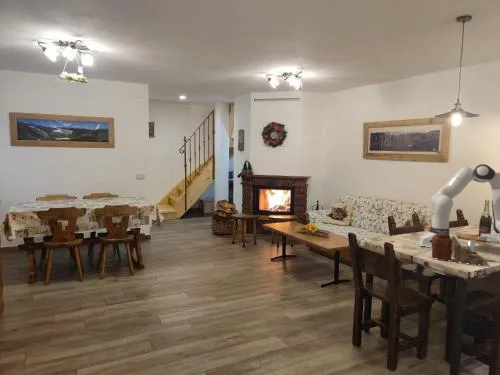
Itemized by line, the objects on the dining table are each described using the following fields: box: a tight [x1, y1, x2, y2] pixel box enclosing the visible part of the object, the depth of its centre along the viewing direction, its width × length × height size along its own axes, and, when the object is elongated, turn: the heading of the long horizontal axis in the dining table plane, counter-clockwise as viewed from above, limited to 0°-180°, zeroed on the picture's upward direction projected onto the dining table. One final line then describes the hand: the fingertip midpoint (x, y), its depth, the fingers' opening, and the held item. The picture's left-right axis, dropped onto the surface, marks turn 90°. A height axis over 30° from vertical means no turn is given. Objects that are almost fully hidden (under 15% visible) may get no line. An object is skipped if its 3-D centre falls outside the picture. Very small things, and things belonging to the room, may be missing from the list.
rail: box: [451, 235, 484, 266], centre depth 233 cm, size 14×24×12 cm, turn 159°
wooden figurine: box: [431, 232, 453, 261], centre depth 232 cm, size 12×6×18 cm, turn 57°
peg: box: [466, 239, 476, 254], centre depth 233 cm, size 4×4×12 cm
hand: (484, 239), depth 233 cm, fingers open, 8 cm apart
